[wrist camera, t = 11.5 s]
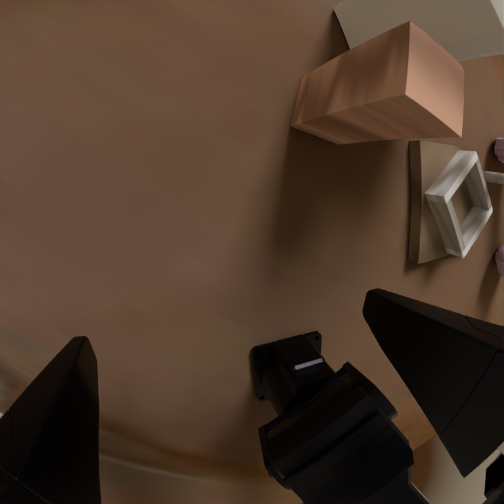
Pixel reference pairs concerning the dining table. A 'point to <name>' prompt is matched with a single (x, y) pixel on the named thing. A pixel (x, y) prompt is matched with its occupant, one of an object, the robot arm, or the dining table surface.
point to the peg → (384, 91)
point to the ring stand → (447, 200)
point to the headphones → (503, 254)
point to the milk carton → (430, 23)
